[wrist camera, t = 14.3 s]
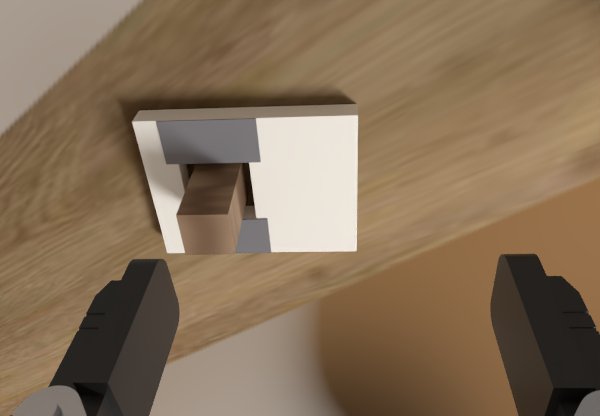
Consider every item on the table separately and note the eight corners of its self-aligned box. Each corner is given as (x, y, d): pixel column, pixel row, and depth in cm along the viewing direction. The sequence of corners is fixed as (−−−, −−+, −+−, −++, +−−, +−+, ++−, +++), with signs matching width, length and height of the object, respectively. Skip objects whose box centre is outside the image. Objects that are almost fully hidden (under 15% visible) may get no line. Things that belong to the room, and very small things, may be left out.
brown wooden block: (242, 159, 47) (227, 214, 40) (247, 196, 49) (234, 254, 43) (197, 160, 47) (175, 215, 41) (204, 197, 49) (185, 254, 43)
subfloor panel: (356, 103, 43) (357, 115, 41) (355, 237, 51) (356, 252, 50) (139, 110, 44) (131, 122, 43) (172, 239, 53) (167, 253, 51)
